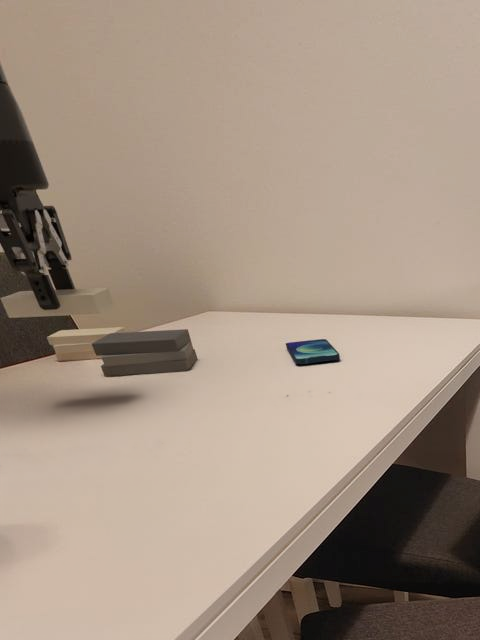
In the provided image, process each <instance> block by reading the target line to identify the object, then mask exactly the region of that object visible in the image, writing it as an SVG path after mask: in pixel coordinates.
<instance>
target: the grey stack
mask: <svg viewBox="0 0 480 640" xmlns="http://www.w3.org/2000/svg"><path fill="white" fill-rule="evenodd" d="M92 347H93V349H94V352H95V354H96V356H102V355H103V356H102V358H101V360H102V363H103V364H102V365H100V368H101V371H102V373H103V376H104V377H106V378H107V377H117V376H120V377H121V376H132V375H133V376H134V375H147V374H163V373H174V372H188V371H189V370H190V369H191V368H192V367H193V365H194V364H195V363H196V361H197V360H198V355H197V353H196V349H195V348H194V346H193V343H192V339H191V337H190V332H189V329H188V328H184V329H167V330H165V329H164V330H147V331H145V330H144V331H127V332H126V331H125V332H124V333H110V334H108V335H106V336H104V337H103V338H101V339H99V340H97V341H95V342H94V343H92Z"/></svg>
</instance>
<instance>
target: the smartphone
mask: <svg viewBox="0 0 480 640" xmlns="http://www.w3.org/2000/svg"><path fill="white" fill-rule="evenodd" d="M285 346H286V350H287V351H288V353H289V355H290V356H291V358H292V360H293V361H294V363H295V364H296V365H308V364H316V363H322V362H331V361H338V360H341V356H340V353H339V352H338V351H337V350H336V348H335V347H334V346H333V345H332V344H331V343H330V342H329V340H328V339H325V338H320V339H309V340H301V341H300V340H299V341H290V342H286V343H285Z"/></svg>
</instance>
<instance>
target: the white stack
mask: <svg viewBox="0 0 480 640" xmlns="http://www.w3.org/2000/svg"><path fill="white" fill-rule="evenodd" d="M124 332H126V331H125V327H124V326H118V327H117V326H116V327H99V328H97V327H96V328H79V329H61V330H58V331H56V332H54V333H52V334H50V335H48V336H46V340H47V342H48V344H49V345H50V346H52V348H53V350H54V351H55V353H54V355H55V357H56V359H57V362H69V361H84V360H97V359H102V356H103V355H102V356H96V354H95V352H94V349H93V347H92V343H94V342H95V341H97V340H99V339H101V338H103V337H104V336H106V335H108V334H110V333H124Z"/></svg>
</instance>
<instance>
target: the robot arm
mask: <svg viewBox="0 0 480 640" xmlns="http://www.w3.org/2000/svg"><path fill="white" fill-rule="evenodd" d="M49 187H50V185H49V181H48V178H47V176H46V172H45V170H44V167H43V164H42V162H41V159H40V157H39V154H38V150H37V149H36V146H35V143H34V140H33V138H32V135H31V133H30V130H29V128H28V125H27V122H26V120H25V116H24V114H23V112H22V109H21V107H20V105H19V103H18V101H17V99H16V97H15V95H14V93H13V90H12V88H11V87H10V85H9V80H8V78H7V75H6V73H5V70H4V67H3V65H2V62H1V61H0V246H1V248H2V250H3V252H4V255H5V256H6V258H7V260H8V262H9V264H10V266H11V268H12V270H13V271H15V272H20V273H21V274H22V275H23V276H26V278H27V281H28V283H29V286H30V287H31V291H33V292H34V295H35V297H36V299H37V302H38V304H39V306H40V308H41V309H43V310H56V309H59V308H60V303H59V301H58V298H57V295H56V293H55V291H54V290H66V289H76V287H75V284H74V282H73V278H72V276H71V274H70V271H69V269H68V268H69V266H70V264H69V261H72V254H71V251H70V249H69V244H68V242H67V240H66V237H65V233H64V229H63V228H62V225H61V222H60V219H59V215H58V212H57V209H56V207H55V206H54V205H44V204H43V202H42V200H41V199H40V197H39V196H40V195H38V193H37V190H38V191H39V190H41V191H42V190H47V189H49ZM47 271H48V272H47ZM47 273H48V274H47Z"/></svg>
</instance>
